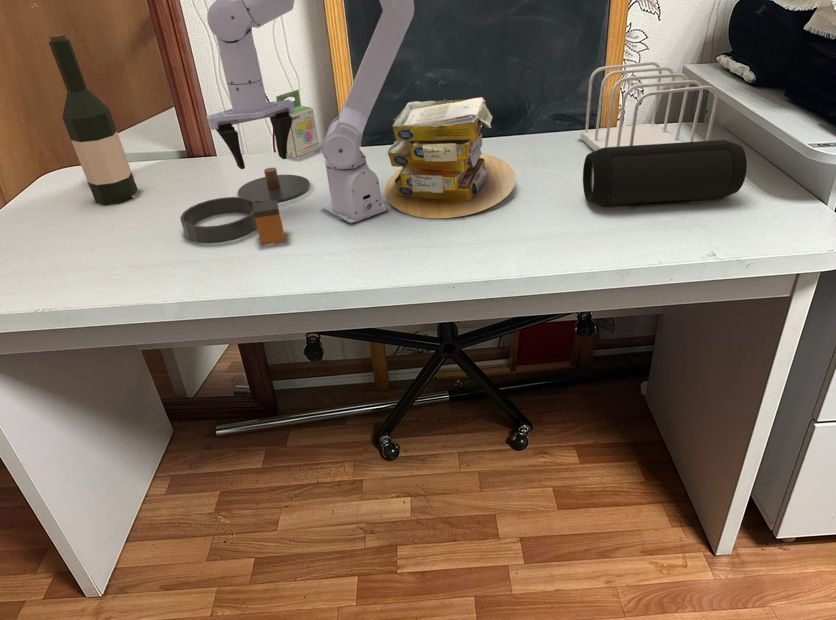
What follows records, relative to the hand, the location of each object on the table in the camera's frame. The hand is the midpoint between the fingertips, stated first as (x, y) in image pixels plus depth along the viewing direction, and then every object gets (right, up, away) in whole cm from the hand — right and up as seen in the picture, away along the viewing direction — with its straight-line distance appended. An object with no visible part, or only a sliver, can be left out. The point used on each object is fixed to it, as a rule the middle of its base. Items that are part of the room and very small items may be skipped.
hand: (262, 162), depth 109 cm
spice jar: (+3, -15, -3) cm, 15 cm away
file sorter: (+74, +8, +22) cm, 77 cm away
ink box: (0, +12, +33) cm, 35 cm away
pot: (-7, -12, +2) cm, 14 cm away
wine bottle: (-35, -2, +18) cm, 39 cm away
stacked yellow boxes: (+33, -3, +10) cm, 35 cm away
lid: (-2, -1, +15) cm, 15 cm away
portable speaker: (+70, -7, +1) cm, 70 cm away
